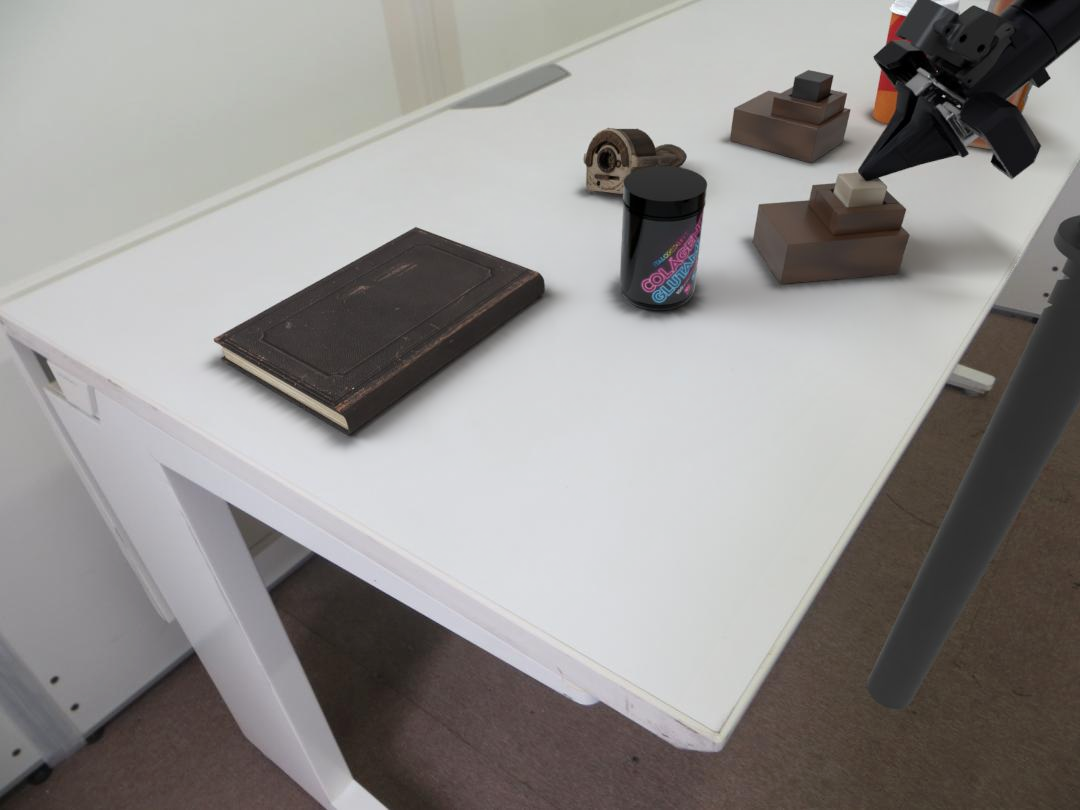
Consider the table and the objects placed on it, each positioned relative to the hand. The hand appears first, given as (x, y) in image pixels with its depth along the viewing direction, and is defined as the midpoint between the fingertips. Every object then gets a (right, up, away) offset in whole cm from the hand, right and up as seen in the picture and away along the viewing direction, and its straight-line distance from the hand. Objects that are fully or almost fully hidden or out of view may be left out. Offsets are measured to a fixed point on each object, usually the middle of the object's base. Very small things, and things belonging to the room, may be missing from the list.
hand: (861, 176), depth 67 cm
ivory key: (0, -2, +2) cm, 3 cm away
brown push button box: (-2, -6, +5) cm, 8 cm away
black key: (+3, +16, +22) cm, 27 cm away
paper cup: (+18, +17, +31) cm, 40 cm away
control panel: (+27, +14, +27) cm, 40 cm away
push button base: (+2, +12, +26) cm, 29 cm away
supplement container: (-18, -10, +1) cm, 21 cm away
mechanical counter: (-17, +5, +19) cm, 26 cm away
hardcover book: (-41, -14, -1) cm, 43 cm away
